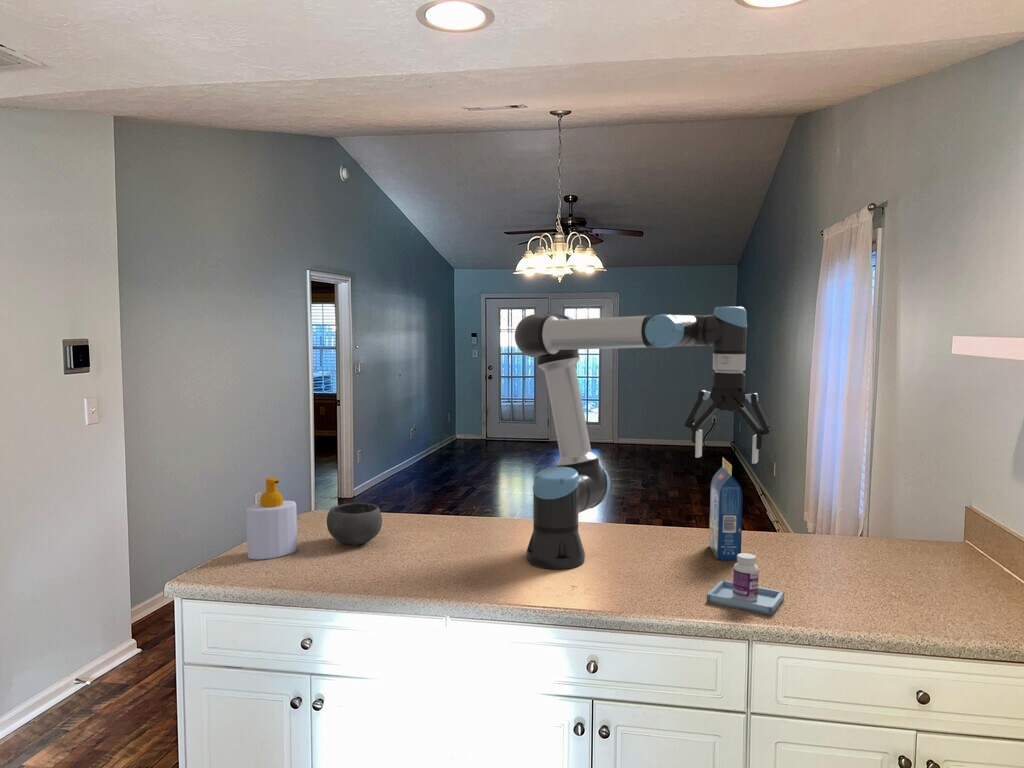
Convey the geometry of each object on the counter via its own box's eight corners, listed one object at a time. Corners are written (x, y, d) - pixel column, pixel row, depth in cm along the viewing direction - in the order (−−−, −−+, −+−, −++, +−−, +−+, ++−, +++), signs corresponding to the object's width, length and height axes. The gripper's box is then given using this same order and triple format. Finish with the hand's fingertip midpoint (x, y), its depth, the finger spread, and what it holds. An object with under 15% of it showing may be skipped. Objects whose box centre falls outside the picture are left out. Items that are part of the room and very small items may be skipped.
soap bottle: (254, 563, 187) (252, 484, 185) (242, 555, 193) (240, 479, 191) (303, 552, 195) (301, 477, 194) (289, 545, 202) (288, 472, 200)
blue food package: (731, 546, 202) (734, 457, 200) (741, 560, 190) (744, 465, 188) (708, 546, 203) (710, 456, 201) (716, 560, 191) (719, 465, 189)
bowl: (356, 532, 215) (355, 498, 214) (392, 541, 206) (392, 506, 205) (315, 544, 203) (315, 509, 202) (352, 554, 194) (352, 517, 193)
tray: (706, 601, 162) (706, 594, 162) (721, 586, 171) (721, 579, 171) (771, 615, 155) (772, 607, 154) (783, 599, 164) (784, 591, 164)
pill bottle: (754, 604, 159) (755, 561, 158) (729, 599, 162) (731, 556, 161) (760, 596, 164) (761, 554, 163) (736, 591, 167) (737, 550, 166)
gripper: (672, 370, 178) (670, 456, 180) (779, 374, 165) (776, 468, 166) (683, 368, 184) (681, 452, 186) (787, 372, 171) (783, 462, 173)
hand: (726, 459), depth 176 cm, fingers open, 13 cm apart
